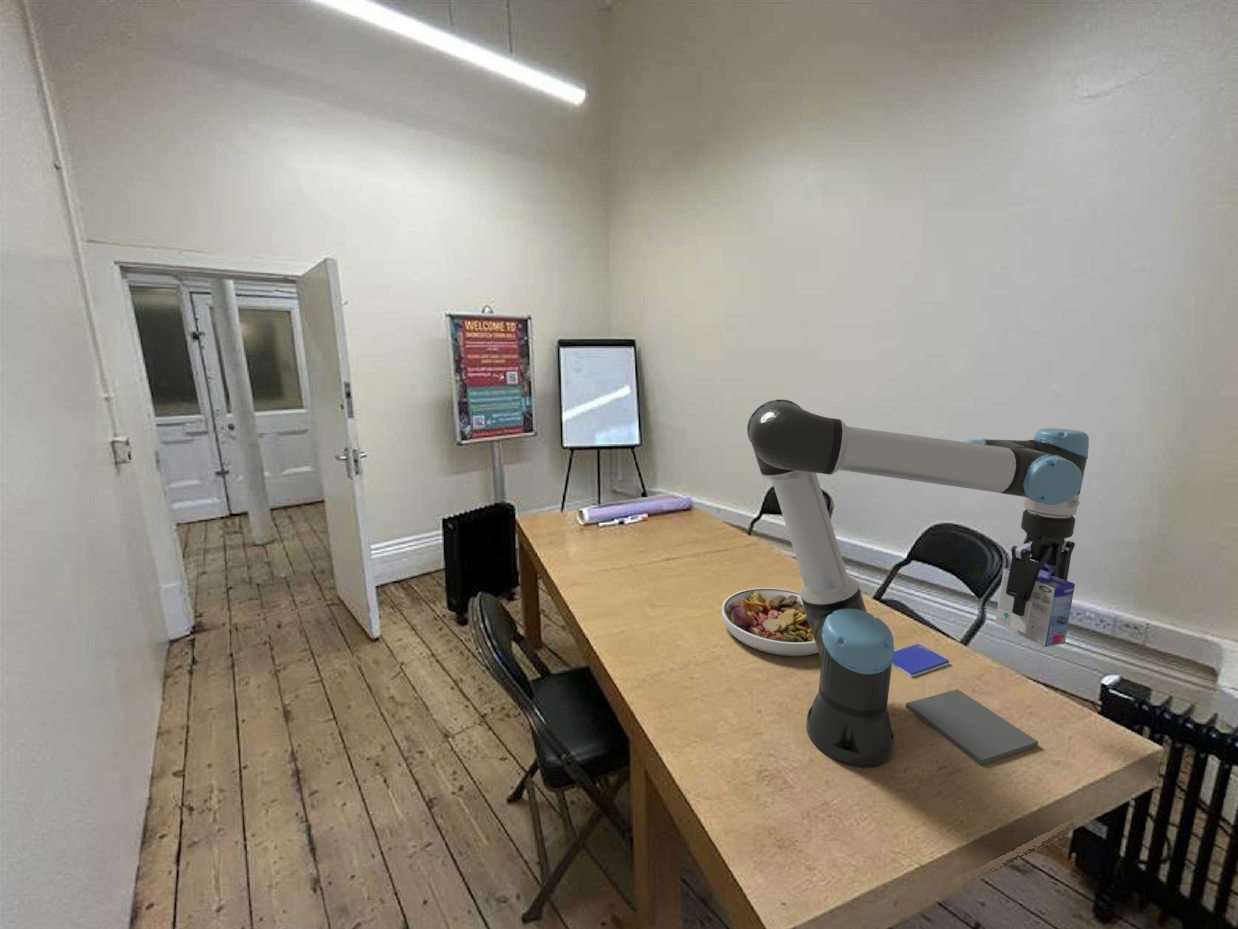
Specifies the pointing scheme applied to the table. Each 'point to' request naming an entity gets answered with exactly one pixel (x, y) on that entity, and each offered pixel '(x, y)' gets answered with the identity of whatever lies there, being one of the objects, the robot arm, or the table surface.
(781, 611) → the bowl
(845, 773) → the table surface
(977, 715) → the rubber mat
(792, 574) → the table surface
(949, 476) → the robot arm
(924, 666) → the blue book
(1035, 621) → the ink cartridge box
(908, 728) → the table surface
